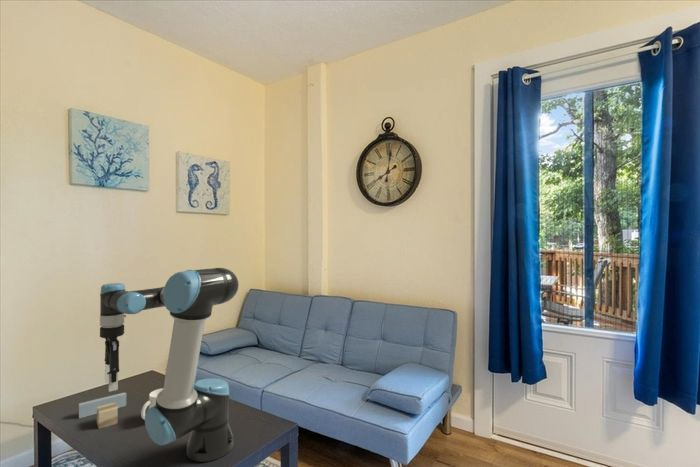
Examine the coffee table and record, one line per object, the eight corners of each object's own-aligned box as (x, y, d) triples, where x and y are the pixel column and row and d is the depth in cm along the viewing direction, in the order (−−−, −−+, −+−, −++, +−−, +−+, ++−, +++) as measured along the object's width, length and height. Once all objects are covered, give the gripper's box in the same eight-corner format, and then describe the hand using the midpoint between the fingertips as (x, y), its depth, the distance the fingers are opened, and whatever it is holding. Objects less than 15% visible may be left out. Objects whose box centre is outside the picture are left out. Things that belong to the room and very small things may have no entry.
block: (117, 423, 136) (117, 408, 136) (98, 429, 132) (98, 413, 132) (115, 417, 141) (115, 402, 141) (96, 422, 137) (97, 407, 137)
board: (126, 405, 150) (126, 394, 150) (79, 418, 139) (79, 405, 139) (125, 403, 152) (125, 392, 152) (78, 415, 141) (78, 403, 141)
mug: (147, 430, 132) (147, 403, 132) (134, 424, 136) (135, 397, 136) (176, 416, 142) (176, 391, 142) (164, 411, 146) (164, 386, 146)
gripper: (129, 329, 124) (128, 393, 124) (119, 318, 140) (118, 374, 140) (103, 333, 119) (102, 399, 119) (96, 321, 136) (95, 379, 135)
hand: (111, 385), depth 130 cm, fingers open, 9 cm apart
